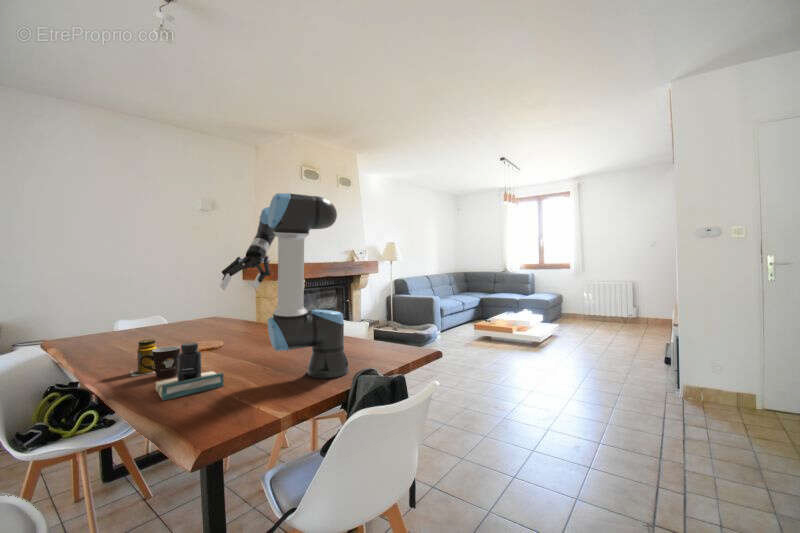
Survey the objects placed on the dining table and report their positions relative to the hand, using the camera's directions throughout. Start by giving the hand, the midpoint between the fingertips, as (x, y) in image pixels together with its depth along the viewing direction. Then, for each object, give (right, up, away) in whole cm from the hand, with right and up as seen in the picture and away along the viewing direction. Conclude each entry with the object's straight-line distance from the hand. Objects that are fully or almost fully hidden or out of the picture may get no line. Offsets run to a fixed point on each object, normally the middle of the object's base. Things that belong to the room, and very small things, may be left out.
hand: (238, 287), depth 137 cm
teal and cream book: (-6, -32, -22) cm, 39 cm away
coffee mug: (-24, -32, -9) cm, 41 cm away
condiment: (-34, -32, -4) cm, 47 cm away
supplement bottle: (-6, -30, -21) cm, 37 cm away
